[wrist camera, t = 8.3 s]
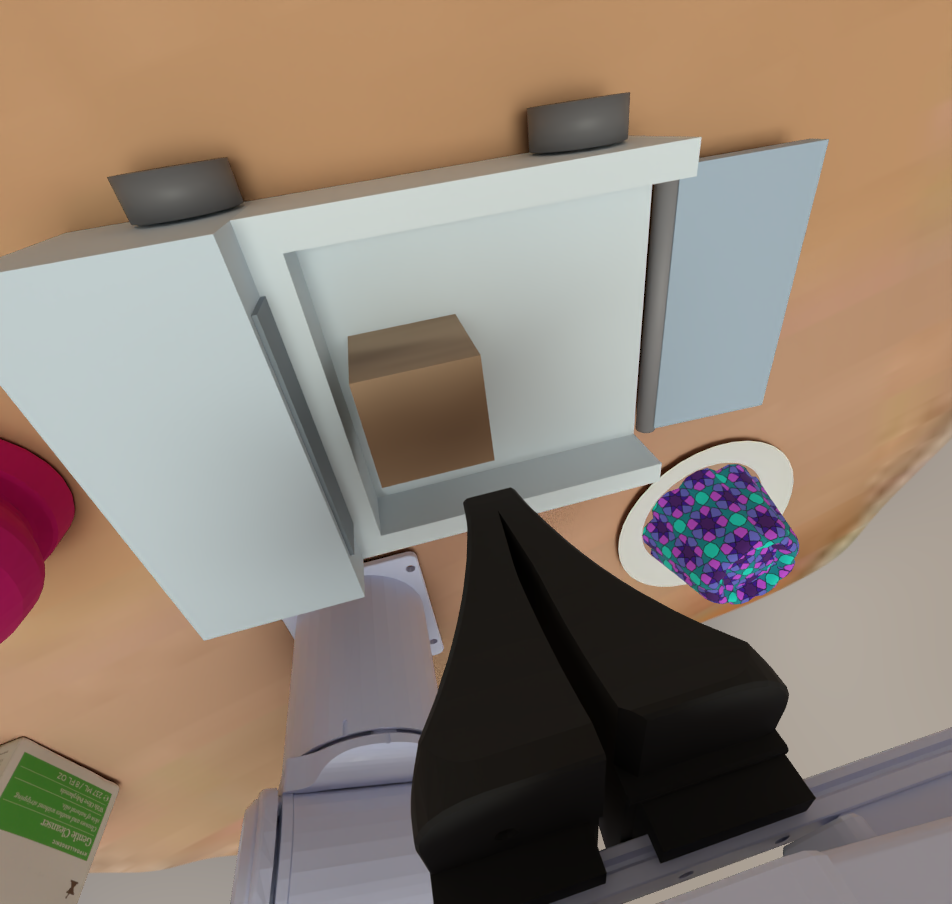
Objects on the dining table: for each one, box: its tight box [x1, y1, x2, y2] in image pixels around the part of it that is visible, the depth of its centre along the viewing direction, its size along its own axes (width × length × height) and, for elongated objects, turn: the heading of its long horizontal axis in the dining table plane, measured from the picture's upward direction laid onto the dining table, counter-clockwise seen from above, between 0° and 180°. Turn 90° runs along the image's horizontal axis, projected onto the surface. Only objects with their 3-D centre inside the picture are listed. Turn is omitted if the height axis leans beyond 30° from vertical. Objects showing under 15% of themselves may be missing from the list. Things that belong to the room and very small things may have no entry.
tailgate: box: [636, 139, 829, 433], centre depth 20 cm, size 11×6×1 cm, turn 8°
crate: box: [348, 314, 495, 488], centre depth 17 cm, size 4×4×4 cm
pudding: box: [618, 441, 799, 604], centre depth 29 cm, size 12×12×5 cm
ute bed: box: [0, 92, 701, 640], centre depth 18 cm, size 16×19×6 cm
